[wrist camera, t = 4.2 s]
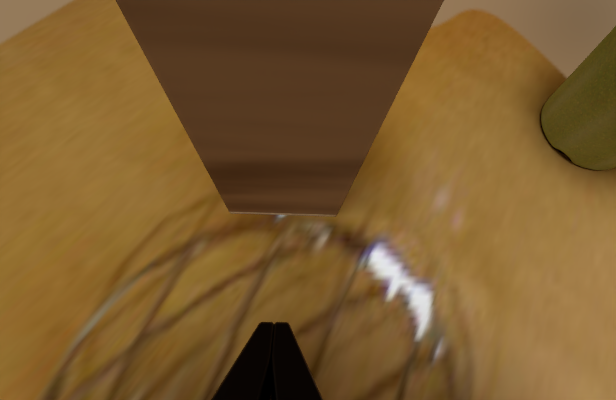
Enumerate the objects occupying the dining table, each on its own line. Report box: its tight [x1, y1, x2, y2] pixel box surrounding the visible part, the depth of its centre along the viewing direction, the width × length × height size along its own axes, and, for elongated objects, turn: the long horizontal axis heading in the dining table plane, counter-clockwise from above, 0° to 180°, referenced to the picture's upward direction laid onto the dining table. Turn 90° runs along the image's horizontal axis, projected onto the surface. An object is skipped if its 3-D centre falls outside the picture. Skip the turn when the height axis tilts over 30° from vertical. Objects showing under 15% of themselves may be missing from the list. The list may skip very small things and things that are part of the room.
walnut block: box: [116, 0, 444, 216], centre depth 13 cm, size 6×6×14 cm
